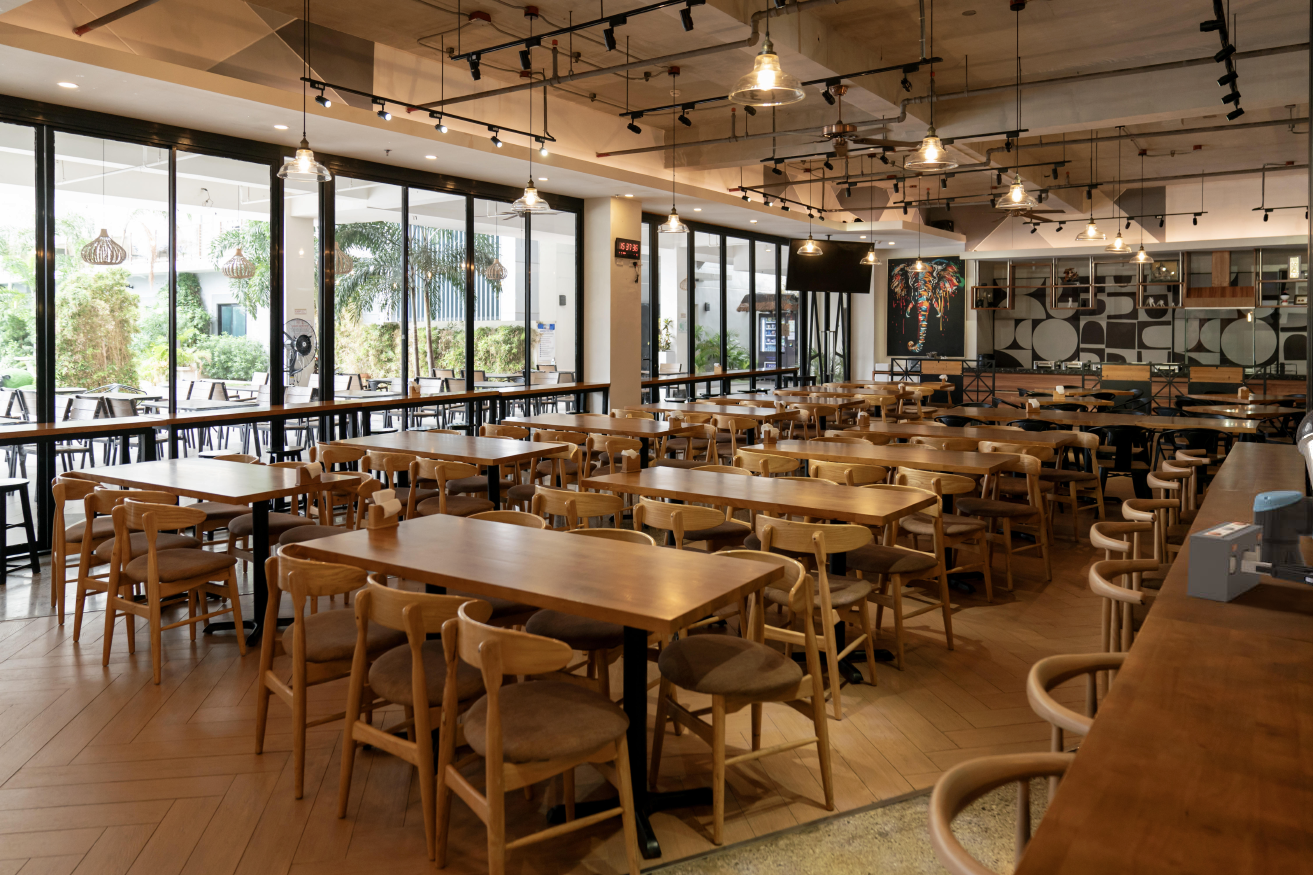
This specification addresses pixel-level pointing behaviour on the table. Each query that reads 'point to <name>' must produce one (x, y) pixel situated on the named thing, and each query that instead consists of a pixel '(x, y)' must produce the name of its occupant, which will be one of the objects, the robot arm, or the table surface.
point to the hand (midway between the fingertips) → (1242, 565)
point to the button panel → (1222, 560)
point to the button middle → (1251, 556)
